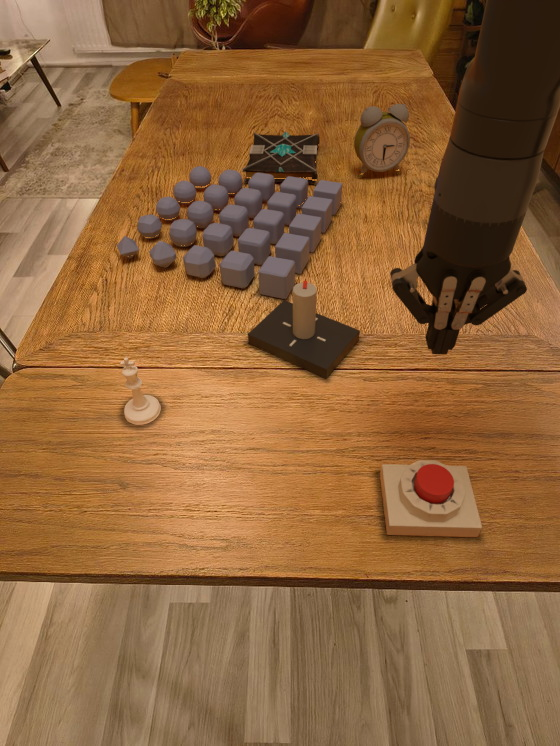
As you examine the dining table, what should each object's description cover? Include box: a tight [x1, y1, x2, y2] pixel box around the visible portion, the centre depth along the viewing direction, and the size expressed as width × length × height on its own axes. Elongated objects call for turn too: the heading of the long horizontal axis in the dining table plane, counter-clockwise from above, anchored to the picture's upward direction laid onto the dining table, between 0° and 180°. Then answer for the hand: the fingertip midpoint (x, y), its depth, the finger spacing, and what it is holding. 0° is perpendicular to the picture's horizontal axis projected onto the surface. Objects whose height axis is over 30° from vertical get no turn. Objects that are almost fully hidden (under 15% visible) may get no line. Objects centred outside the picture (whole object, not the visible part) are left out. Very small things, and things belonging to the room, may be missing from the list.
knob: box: [292, 280, 318, 339], centre depth 75 cm, size 3×3×8 cm
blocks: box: [116, 165, 343, 300], centre depth 101 cm, size 35×34×5 cm
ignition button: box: [414, 464, 454, 504], centre depth 57 cm, size 4×4×2 cm
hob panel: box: [247, 299, 361, 380], centre depth 79 cm, size 14×10×2 cm
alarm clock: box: [353, 103, 411, 179], centre depth 115 cm, size 12×7×15 cm, turn 102°
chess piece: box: [119, 357, 162, 426], centre depth 67 cm, size 5×5×10 cm
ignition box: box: [379, 459, 483, 538], centre depth 59 cm, size 10×8×4 cm
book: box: [241, 131, 321, 186], centre depth 122 cm, size 22×17×5 cm
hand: (438, 349), depth 55 cm, fingers closed
